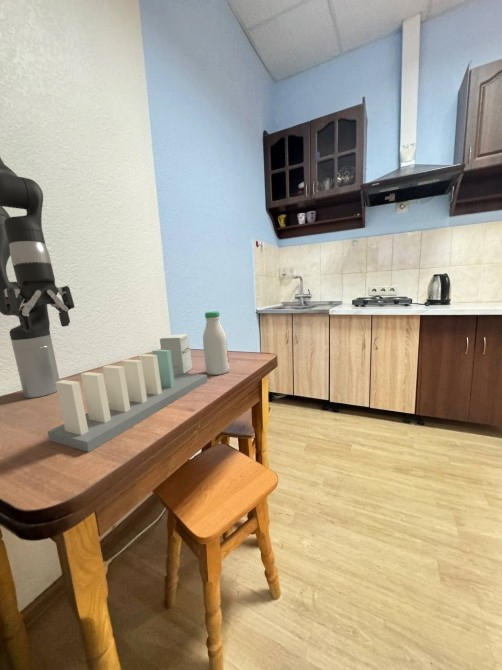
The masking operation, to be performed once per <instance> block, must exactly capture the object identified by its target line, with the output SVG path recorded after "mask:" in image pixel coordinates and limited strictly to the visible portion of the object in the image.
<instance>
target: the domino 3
mask: <svg viewBox="0 0 502 670" xmlns="http://www.w3.org/2000/svg"><path fill="white" fill-rule="evenodd" d="M102 372H103V373H102V374H103V376H104V381H105V387H106V393H107V399H108V403H109V407H110V409H111V410H117V411H122V412H126V411H128V410H130V403H129V397H128V391H127V384H126V378H125V372H124V367H123V366H122V365H109V364H108V365H104V366H102Z"/></svg>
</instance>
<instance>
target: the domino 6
mask: <svg viewBox="0 0 502 670" xmlns="http://www.w3.org/2000/svg"><path fill="white" fill-rule="evenodd" d="M152 355H157V360H158V367H159V374H160V382H161V387H169V388H172V387H174V386H175V382H174V374H173V366H172V358H171V351H170V350H161V349H154V350H152Z"/></svg>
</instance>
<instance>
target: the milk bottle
mask: <svg viewBox="0 0 502 670" xmlns="http://www.w3.org/2000/svg"><path fill="white" fill-rule="evenodd" d="M204 317H205V329H204V331H203V335H202V343H203V345H202V347H203V355H204V364H205V372H206V375H211V376H217V375H223V374H226V373H228V372H229V371H230V361H229V350H228V343H227V335H226V332H225V330H224V328H223V326H222V325H221V322H220V317H221V316H220V312H219V311H207V312H205V313H204Z"/></svg>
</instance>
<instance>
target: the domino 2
mask: <svg viewBox="0 0 502 670" xmlns="http://www.w3.org/2000/svg"><path fill="white" fill-rule="evenodd" d="M80 377H81V382H82V384H81V385H82V388H83V395H84V399H85V403H86V404H85V405H86V409H87V413H88V416H89V419H90V420H95V421H99V422H104V423H106V422H107V421H109V420H111V416H110V410H109V405H108V403H109V402H108V396H107V390H106V384H105V379H104V373H101V372H100V373H99V372H88V371H86V372H83V373H81V374H80Z"/></svg>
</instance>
